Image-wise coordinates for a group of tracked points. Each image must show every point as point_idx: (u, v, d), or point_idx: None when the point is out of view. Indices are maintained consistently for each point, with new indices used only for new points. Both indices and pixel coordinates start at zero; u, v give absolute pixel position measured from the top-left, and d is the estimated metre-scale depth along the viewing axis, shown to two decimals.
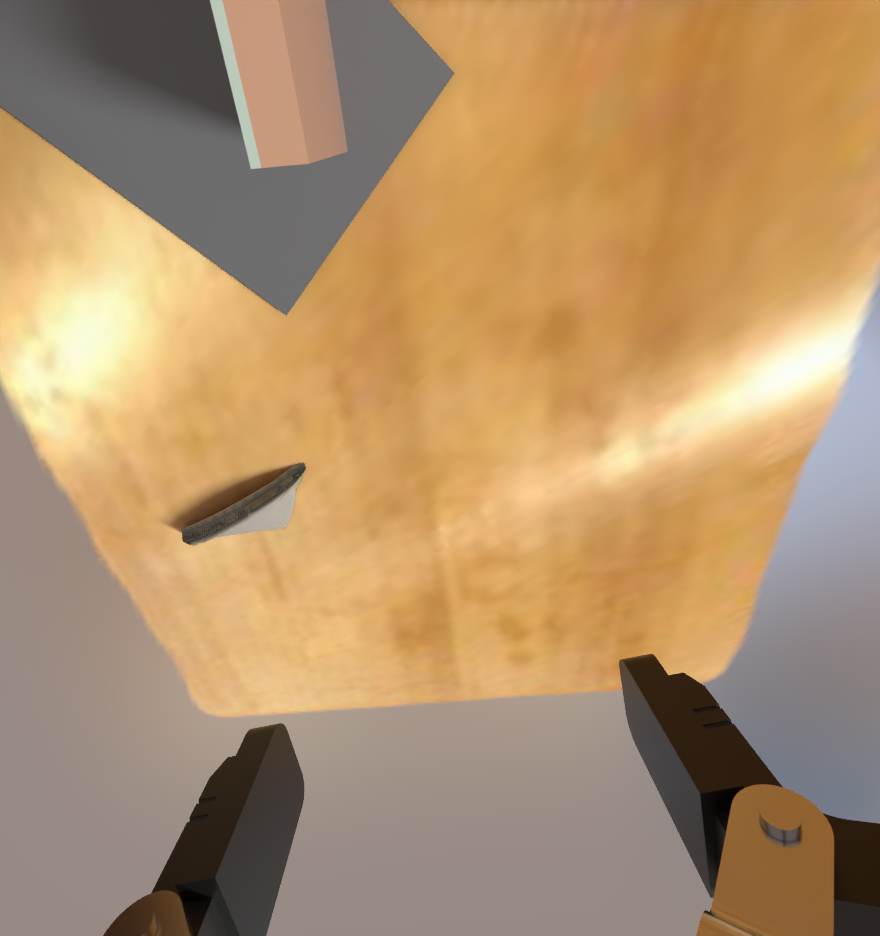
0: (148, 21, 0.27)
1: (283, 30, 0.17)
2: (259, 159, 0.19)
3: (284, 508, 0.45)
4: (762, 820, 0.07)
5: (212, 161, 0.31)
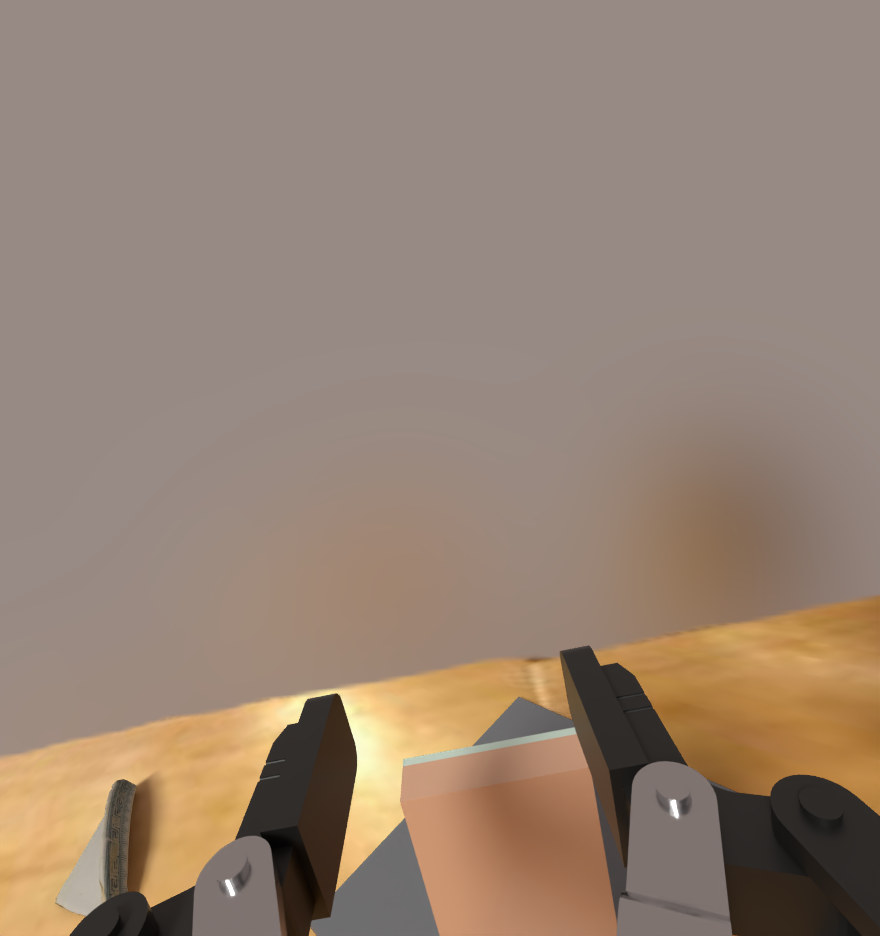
0: None
1: (491, 785, 0.21)
2: (408, 765, 0.23)
3: (82, 898, 0.36)
4: (657, 792, 0.08)
5: None
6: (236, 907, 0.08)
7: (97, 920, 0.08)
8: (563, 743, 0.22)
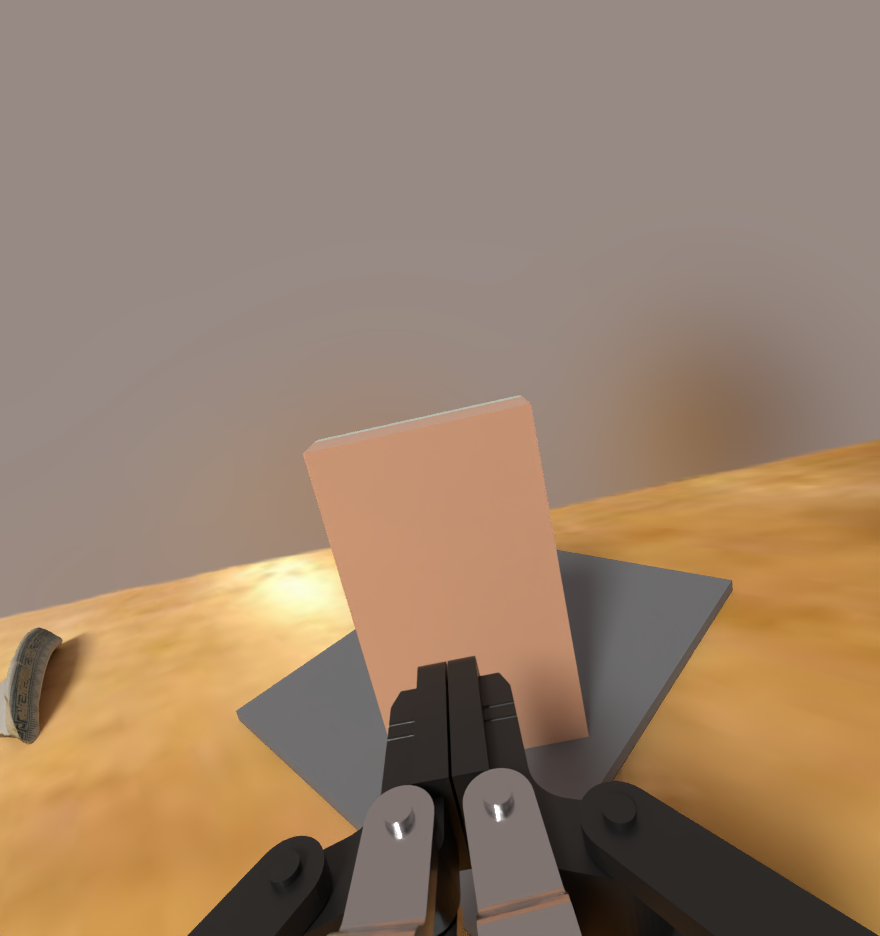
0: None
1: (412, 431, 0.17)
2: (321, 440, 0.19)
3: None
4: (482, 797, 0.08)
5: None
6: (394, 853, 0.08)
7: (282, 857, 0.08)
8: (503, 402, 0.19)
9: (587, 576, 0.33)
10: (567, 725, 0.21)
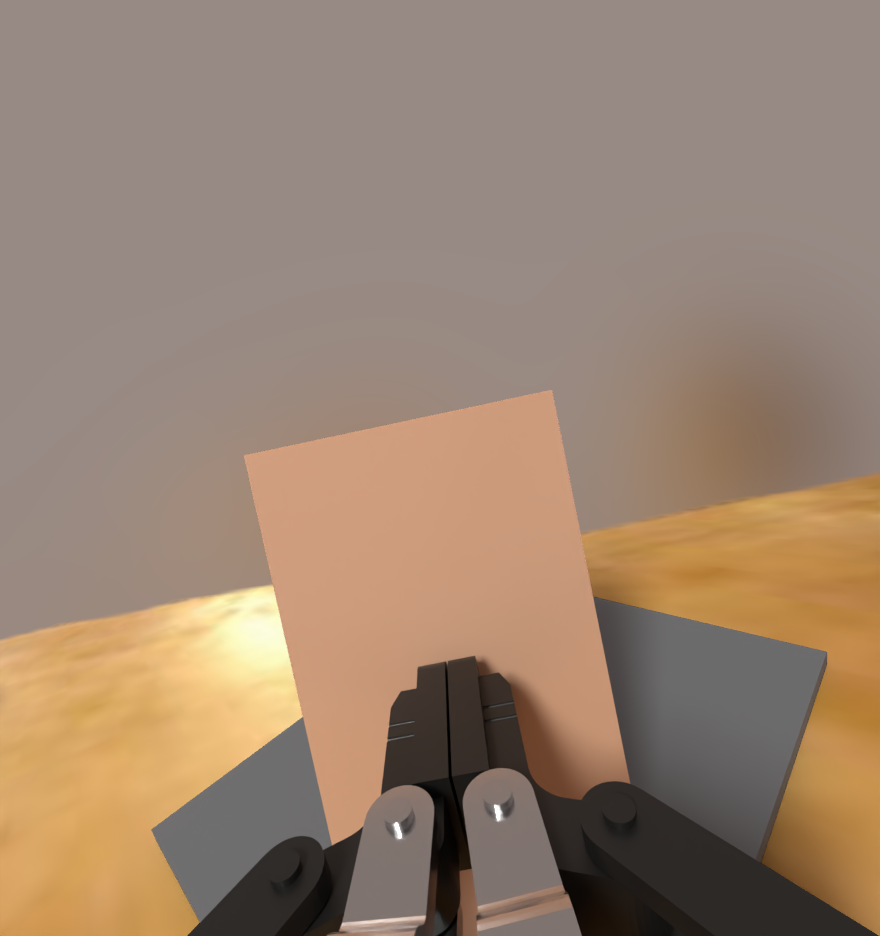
0: None
1: (390, 426, 0.13)
2: None
3: None
4: (482, 797, 0.08)
5: None
6: (394, 854, 0.08)
7: (282, 857, 0.08)
8: None
9: (625, 635, 0.25)
10: None
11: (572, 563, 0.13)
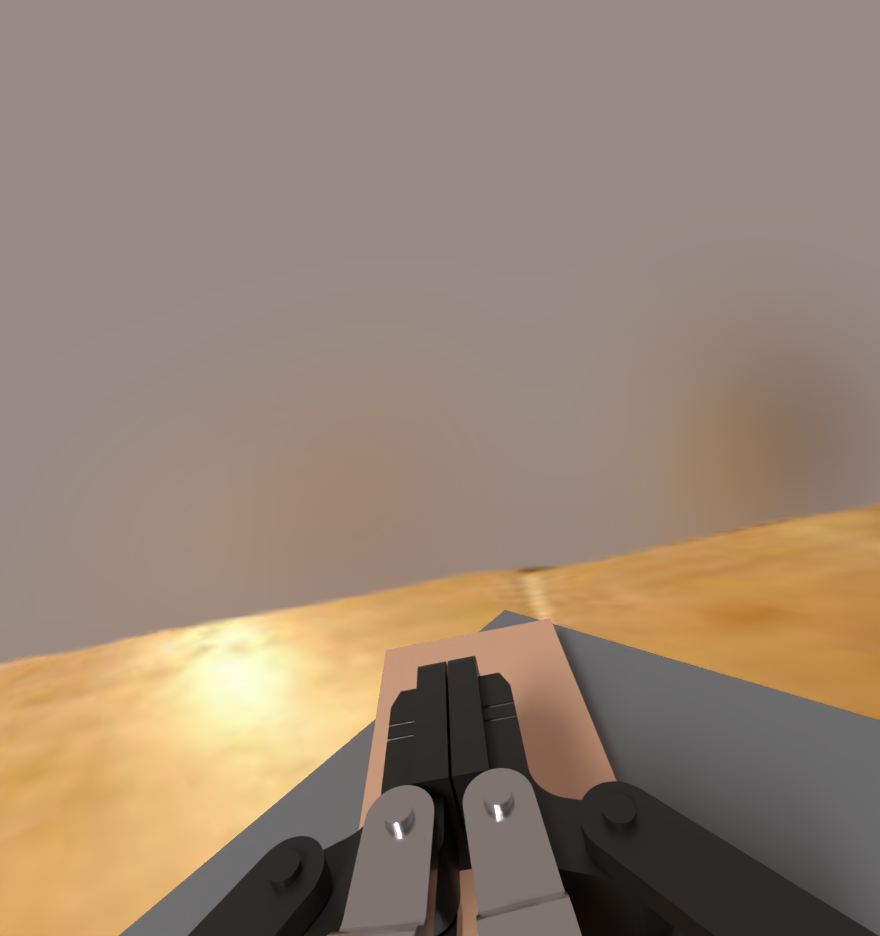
0: None
1: (464, 636, 0.24)
2: None
3: None
4: (482, 797, 0.08)
5: None
6: (394, 853, 0.08)
7: (282, 857, 0.08)
8: None
9: (668, 701, 0.21)
10: None
11: (566, 680, 0.20)
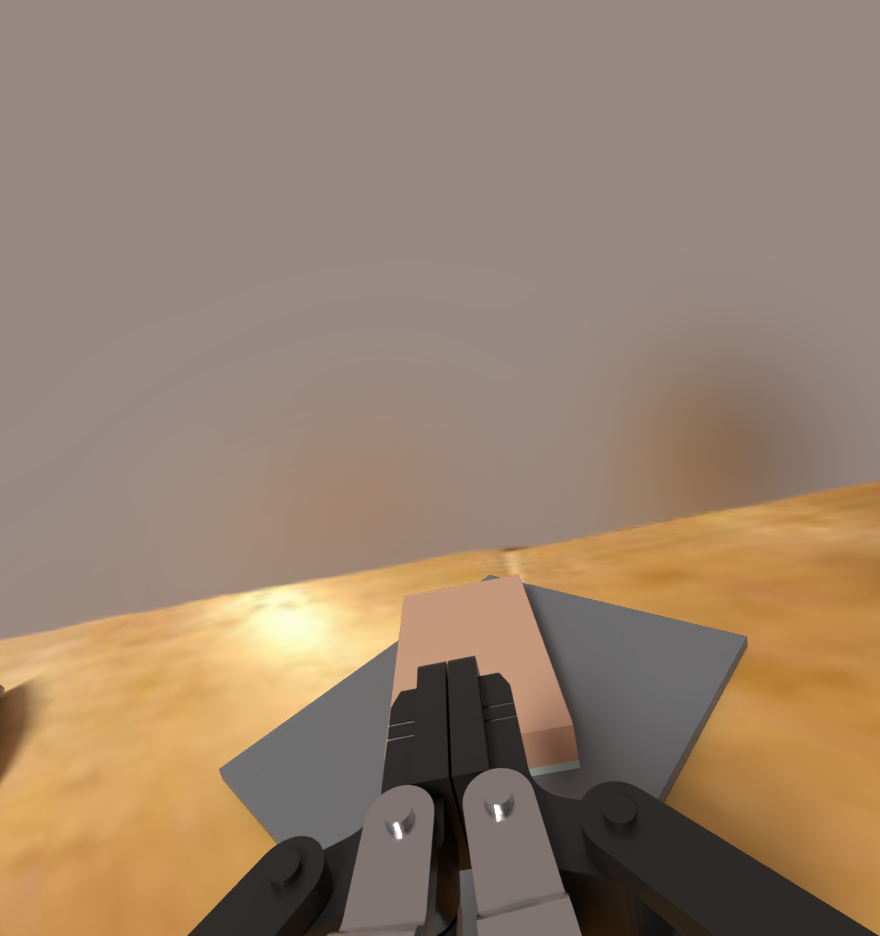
0: None
1: (459, 586, 0.35)
2: None
3: None
4: (482, 797, 0.08)
5: None
6: (394, 853, 0.08)
7: (283, 857, 0.08)
8: None
9: (593, 624, 0.31)
10: (550, 715, 0.22)
11: (525, 608, 0.30)
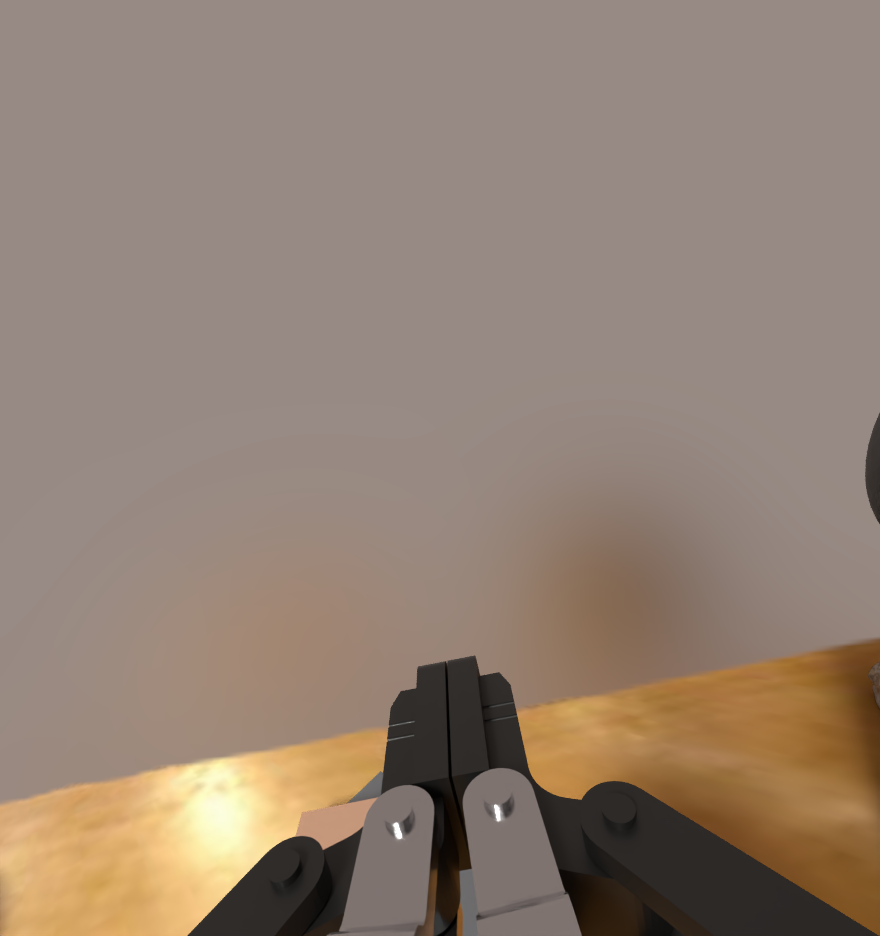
0: None
1: (344, 804, 0.44)
2: None
3: None
4: (482, 797, 0.08)
5: None
6: (394, 853, 0.08)
7: (282, 857, 0.08)
8: None
9: None
10: None
11: None
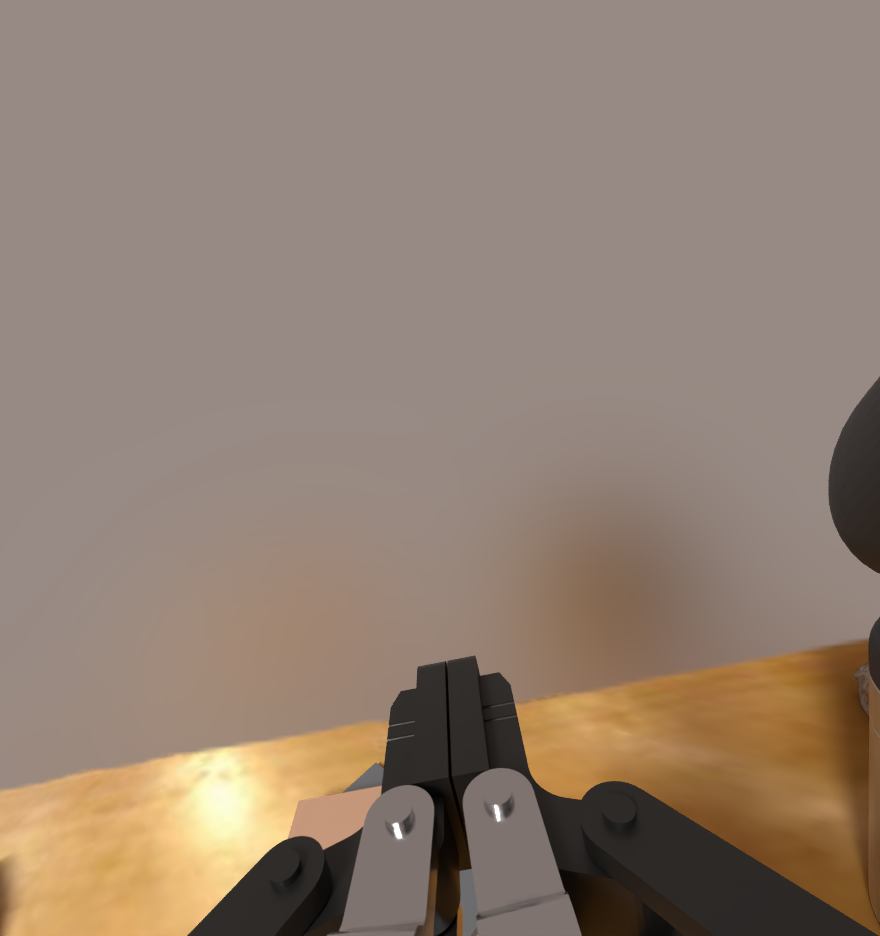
0: None
1: (339, 794, 0.47)
2: None
3: None
4: (482, 797, 0.08)
5: None
6: (394, 853, 0.08)
7: (282, 857, 0.08)
8: None
9: None
10: None
11: None
